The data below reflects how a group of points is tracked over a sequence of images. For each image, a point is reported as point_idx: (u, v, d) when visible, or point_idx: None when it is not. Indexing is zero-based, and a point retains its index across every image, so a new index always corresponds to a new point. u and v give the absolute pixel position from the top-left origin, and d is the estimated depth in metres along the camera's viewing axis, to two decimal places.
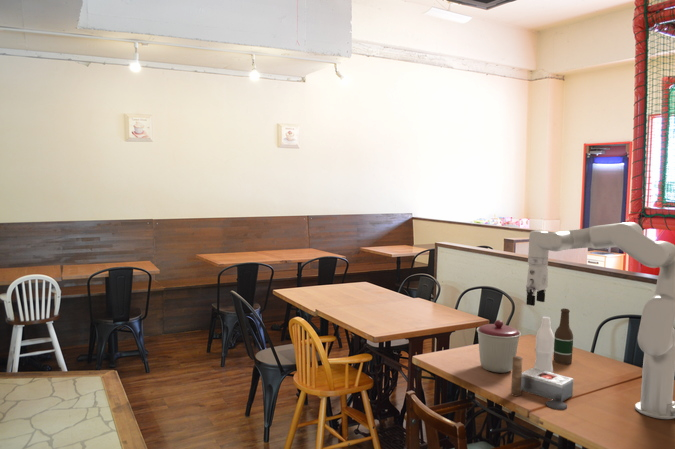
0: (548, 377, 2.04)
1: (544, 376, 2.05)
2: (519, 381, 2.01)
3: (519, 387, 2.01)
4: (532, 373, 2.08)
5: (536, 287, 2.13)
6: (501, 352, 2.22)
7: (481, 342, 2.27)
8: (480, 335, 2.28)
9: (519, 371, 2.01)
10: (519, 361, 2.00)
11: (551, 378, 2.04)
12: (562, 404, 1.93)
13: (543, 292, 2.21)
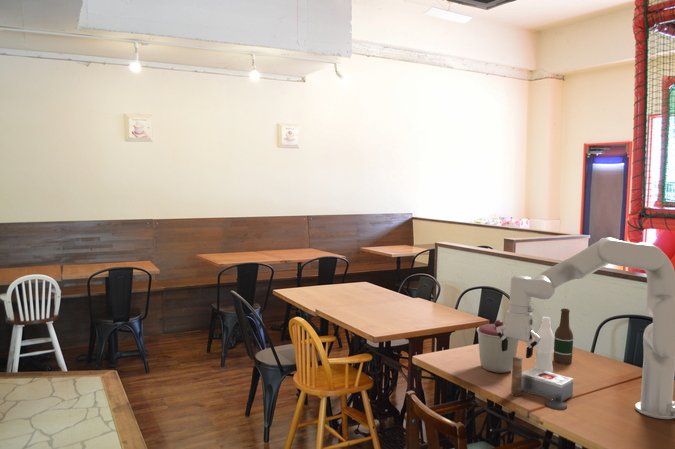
0: (548, 377, 2.04)
1: (544, 376, 2.05)
2: (519, 381, 2.01)
3: (519, 387, 2.01)
4: (532, 373, 2.08)
5: (533, 336, 1.99)
6: (501, 352, 2.22)
7: (481, 342, 2.27)
8: (480, 335, 2.28)
9: (519, 371, 2.01)
10: (519, 361, 2.00)
11: (551, 378, 2.04)
12: (562, 404, 1.93)
13: (506, 340, 2.06)
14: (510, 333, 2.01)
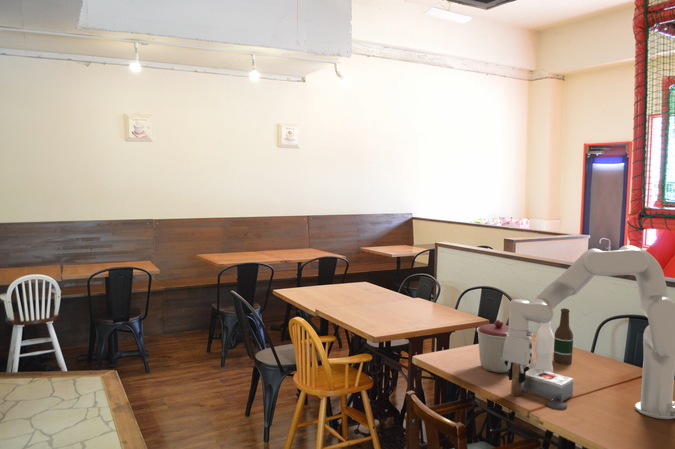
0: (548, 377, 2.04)
1: (544, 376, 2.05)
2: None
3: (519, 387, 2.01)
4: (532, 373, 2.08)
5: (532, 360, 2.00)
6: (501, 352, 2.22)
7: (481, 342, 2.27)
8: (480, 335, 2.28)
9: (519, 371, 2.01)
10: None
11: (551, 378, 2.04)
12: (562, 404, 1.93)
13: None
14: (510, 357, 2.02)
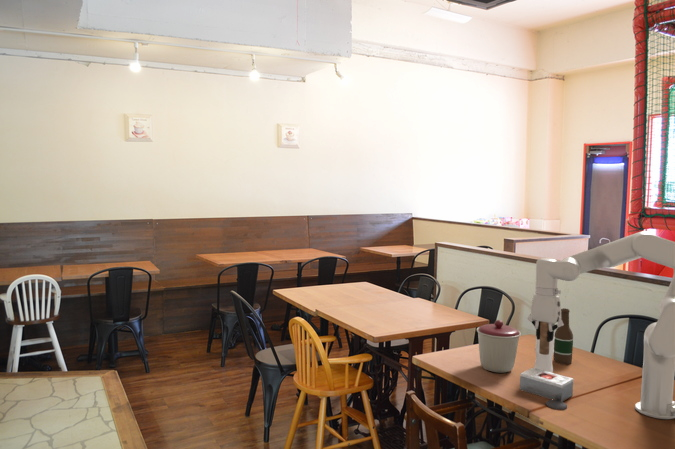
0: (548, 377, 2.04)
1: (544, 376, 2.05)
2: None
3: (547, 346, 2.02)
4: (532, 373, 2.08)
5: (560, 318, 2.00)
6: (501, 352, 2.22)
7: (481, 342, 2.27)
8: (480, 335, 2.28)
9: (547, 330, 2.01)
10: None
11: (551, 378, 2.04)
12: (562, 404, 1.93)
13: None
14: (538, 316, 2.02)
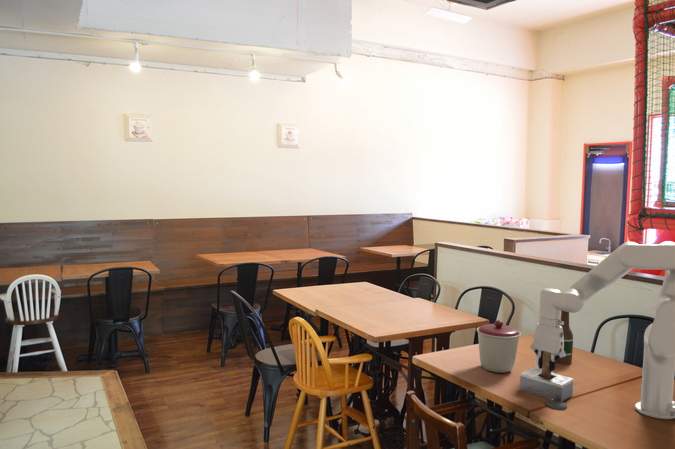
0: None
1: None
2: None
3: (549, 375, 2.03)
4: (532, 373, 2.08)
5: (563, 349, 2.02)
6: (501, 352, 2.22)
7: (481, 342, 2.27)
8: (480, 335, 2.28)
9: (549, 359, 2.03)
10: None
11: None
12: (562, 404, 1.93)
13: None
14: (540, 345, 2.04)
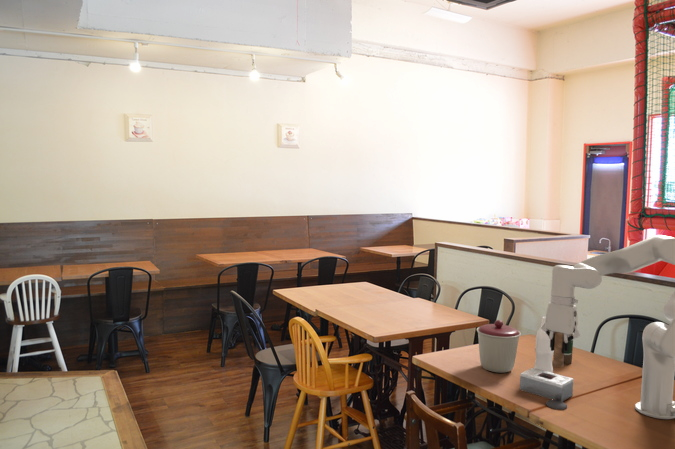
0: None
1: None
2: None
3: (562, 358, 1.90)
4: (532, 373, 2.08)
5: None
6: (501, 352, 2.22)
7: (481, 342, 2.27)
8: (480, 335, 2.28)
9: (562, 341, 1.90)
10: None
11: None
12: (562, 404, 1.93)
13: None
14: (552, 326, 1.91)
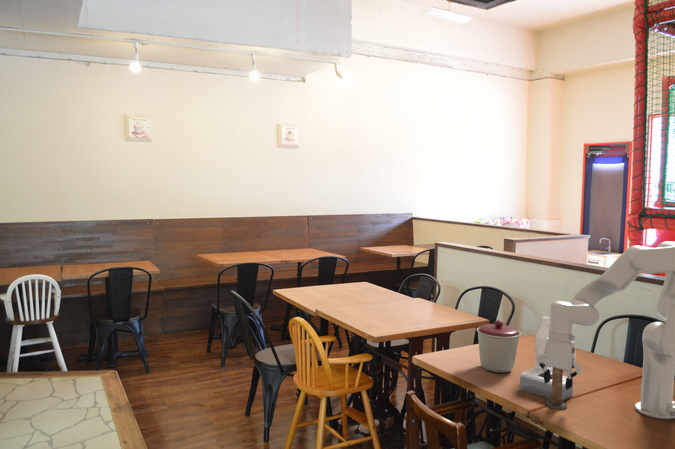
0: None
1: None
2: (560, 390, 1.91)
3: (560, 396, 1.92)
4: (532, 373, 2.08)
5: None
6: (501, 352, 2.22)
7: (481, 342, 2.27)
8: (480, 335, 2.28)
9: (560, 380, 1.91)
10: (560, 369, 1.91)
11: None
12: (562, 404, 1.93)
13: None
14: (551, 362, 1.92)
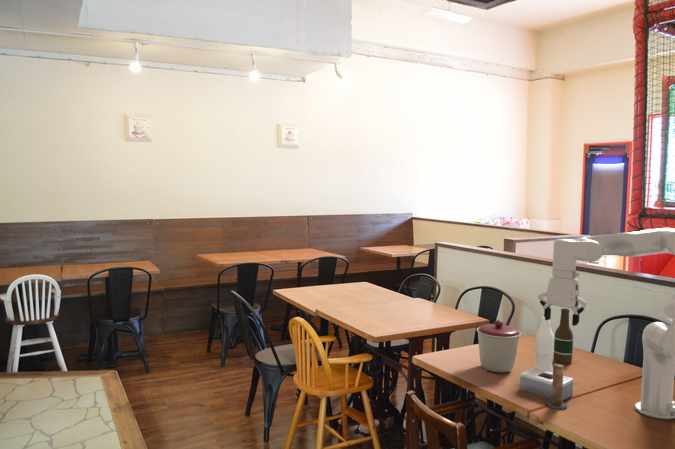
0: None
1: None
2: (560, 390, 1.91)
3: (560, 397, 1.91)
4: (532, 373, 2.08)
5: (578, 303, 1.88)
6: (501, 352, 2.22)
7: (481, 342, 2.27)
8: (480, 335, 2.28)
9: (560, 380, 1.91)
10: (560, 370, 1.90)
11: None
12: (562, 404, 1.93)
13: (549, 308, 1.95)
14: (554, 300, 1.90)
